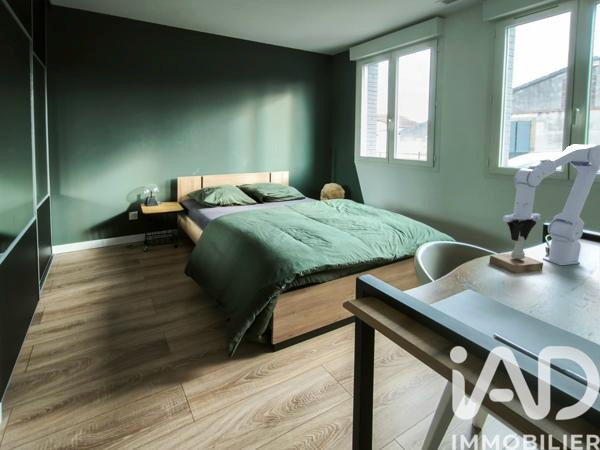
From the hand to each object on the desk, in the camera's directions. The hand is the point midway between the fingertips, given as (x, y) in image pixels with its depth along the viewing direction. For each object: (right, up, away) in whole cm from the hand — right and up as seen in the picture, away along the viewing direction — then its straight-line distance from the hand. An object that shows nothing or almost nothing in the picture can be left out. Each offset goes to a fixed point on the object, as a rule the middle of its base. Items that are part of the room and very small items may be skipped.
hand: (518, 239), depth 133 cm
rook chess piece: (0, -7, +1) cm, 7 cm away
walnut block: (0, -10, +2) cm, 10 cm away
